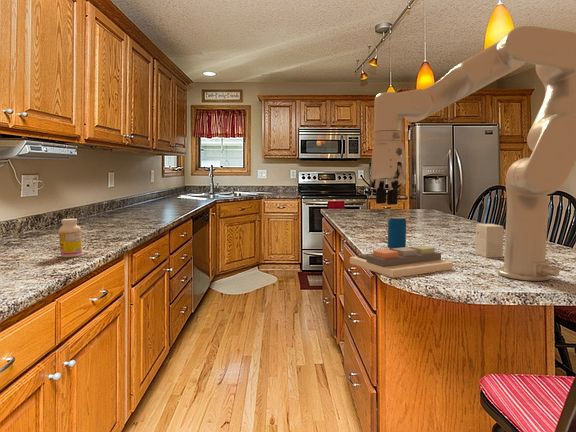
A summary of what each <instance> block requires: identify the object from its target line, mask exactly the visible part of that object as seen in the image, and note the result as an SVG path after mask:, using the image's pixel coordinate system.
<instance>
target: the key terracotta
mask: <svg viewBox="0 0 576 432" xmlns="http://www.w3.org/2000/svg"><path fill="white" fill-rule="evenodd" d="M372 253H373V256H375V257H378V258H382V259H389V258H397V257H398V252H396V251H392V250H390V249H389V248H387V249H386V248H385V249H375V250H372Z"/></svg>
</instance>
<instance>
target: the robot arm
mask: <svg viewBox="0 0 576 432" xmlns="http://www.w3.org/2000/svg"><path fill="white" fill-rule="evenodd" d="M526 63H528V64H530V65H531V64H532V65H535V73H536V75H537V77H538V78H539V79H540V81H541V83H542V84H543V86H544V90H545V92H544V93H545V94H544V99H543V101H542V104H541V107H540V108H539V110H538V112H537V115H536V117H535V119H534V122H533V123H532V125H531V128H530V129H529V132H528V134H527V138H526V142H527V146H528V148H529V149H530V151H532V152H531V154H530V156H529V157H528V156H527V157H523V158H520V159H518V160H516V161H514V162H513V163H512V164H511V165H510V166H509V168H508V169H507V171H506V174H505V193H506V217H505V218H506V219H505V233H504V234H505V237H504V239H505V241H504V254H503V257H504V259H503V266H499V267H498V268H497V269H496V270H497V271H496V272H497V274H498V275H500V276H503V277H505V278H509V279H515V280H521V281H528V282H529V281H533V282H535V281H536V282H539V281H540V282H541V281H543V282H544V281H549V280H551V279H552V277H555V278H557V277H559V274H560V268H558V267H553V266H552V267H551V266H550V263H551V261H549V260H546V256H547V253H546V252H547V239H548V238H547V237H548V223H549V222H548V221H549V220H548V219H549V201H548V200H549V198H548V195H550V194H553V193H555V192H557V191H558V190H560V189H561V188H562V187H563V185H564V184H565V183H566V181H567V179H568V178H569V176H570V174H571V172H572V170H573V168H574V167H575V164H576V32H574V31H573V32H572V31H567V30H561V29H555V28H547V27H542V26H535V25H521V26H517V27H515V28H512V29H511V30H510V31H509V32H507V34H506V35H505V36H504V37H502V39H500V40H499V41H497V42H496V43H493V44H492V45H490V46H488V47H486V48H485V49H483V50H481V51H480V52H478V53H476V54H474V55H472V56H470V57H469V58H467V59H465V60H464V61H462V62H460V63H459V64H457V65H456V66H454V67H453V68H452V69H450V70H449V71H448V73H446V74H445V75H444V76H443V77H441V78H440V79H439V80H437V81H436V82H434V83H433V84H431V85H429V86H428V87H426V88H425V89H421V88H420V89H419V88H418V89H410V90H405V91H400V92H394V91H387V92H386V91H385V92H381V93H378V94H376V96H375V97H374V108H373V109H374V119H373V120H374V121H373V122H374V123H373V148H372V153H371V160H370V161H371V163H370V166H371V167H370V176H369V177H370V178H369V180H370V181H371V183H372V184H373V185H374V189H375V203H376V204H378V205H380V204H387V205H388V206H389V205H390V206H393V205H398V191H399V190H400V187H401V185H402V184H403V183H404V182H405V181H406V179H407V178H406V175H407V174H406V173H407V164H406V162H407V161H406V160H407V159H406V152H405V151H406V150H405V145H404V142H402V139H403V128H402V127H403V118H404V120H406V121H407V122H411V123H417V122H421V121H422V120H424V119H426V118H429V117H430V116H432V115H434V114H436V113H438V112H439V111H441V110H444V109H445V108H446V107H448V106H450V105H452V104H454V103H456V102H458V101H460V100H462V99H464V98H466V97H468V96H470V95H471V94H473V93H475V92H477V91H479V90H481V89H482V88H485V87H486V86H488V85H490V84H491V83H493V82H495V81H497V80H499V79H501V78H503V77H505V76H506V75H508V74H510V73H512V72H514V71H515V70H517V69H519V68H521V67H522V66H523V65H525V64H526ZM386 183H387V184H388V190H387V189H386Z"/></svg>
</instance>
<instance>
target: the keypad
mask: <svg viewBox="0 0 576 432" xmlns="http://www.w3.org/2000/svg"><path fill="white" fill-rule="evenodd" d="M349 264H351V265H353V266H356V267H360V268H362V269H365V270H368V271H371V272H374V273H378V274H380V275H384V276H387V277H389V278H391V279H393V278H400V277H407V276H414V275H415V276H416V275H423V274H429V273H436V271H437V272H442V271H443V272H444V271H449V270H453V266H454V265H453V264H454V263H453V261H447V260H443V259H442V252H439V251H435V253H431V254H423V255H422V254H417V255H414V256H406V257H402V256H399V255H398V257H397V258H389V259H382V258H378V257H375V256H373V252H372V253H364V254H357V255H355V256H350V257H349Z"/></svg>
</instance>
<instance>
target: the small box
mask: <svg viewBox="0 0 576 432" xmlns="http://www.w3.org/2000/svg"><path fill="white" fill-rule="evenodd" d="M475 226H476V227H475V254H476V255H479V256H482V257H484V258H486V259H487V258H488V259H489V258H490V259H491V258H503V257H504V253H503V251H504V230H505V229H504V228H505V227H504V225H499V224H496V223H495V224H494V223H476V225H475Z"/></svg>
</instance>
